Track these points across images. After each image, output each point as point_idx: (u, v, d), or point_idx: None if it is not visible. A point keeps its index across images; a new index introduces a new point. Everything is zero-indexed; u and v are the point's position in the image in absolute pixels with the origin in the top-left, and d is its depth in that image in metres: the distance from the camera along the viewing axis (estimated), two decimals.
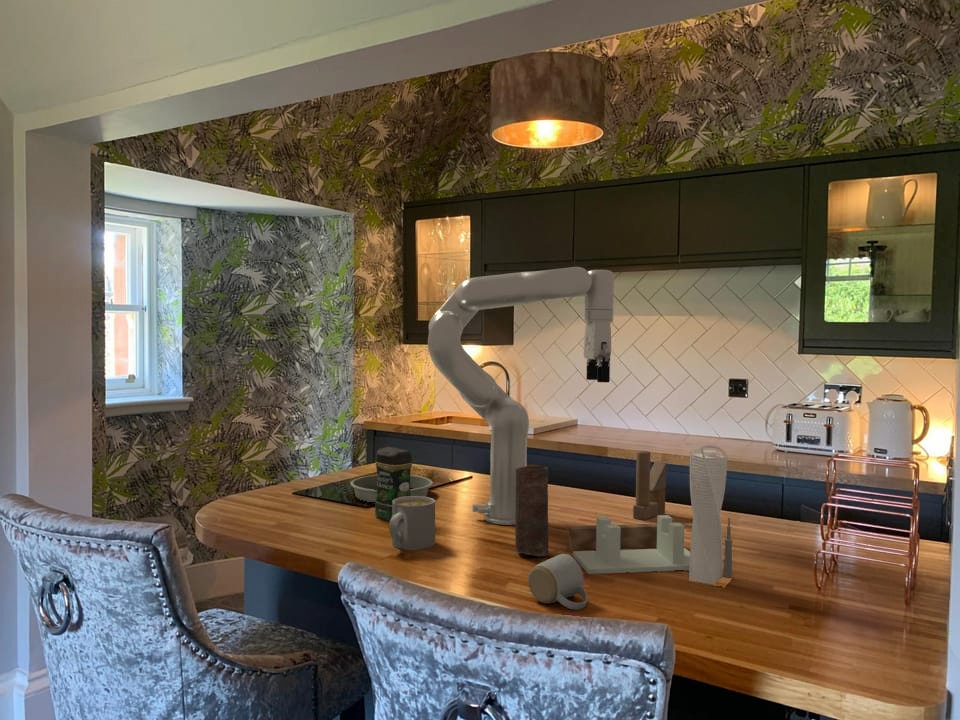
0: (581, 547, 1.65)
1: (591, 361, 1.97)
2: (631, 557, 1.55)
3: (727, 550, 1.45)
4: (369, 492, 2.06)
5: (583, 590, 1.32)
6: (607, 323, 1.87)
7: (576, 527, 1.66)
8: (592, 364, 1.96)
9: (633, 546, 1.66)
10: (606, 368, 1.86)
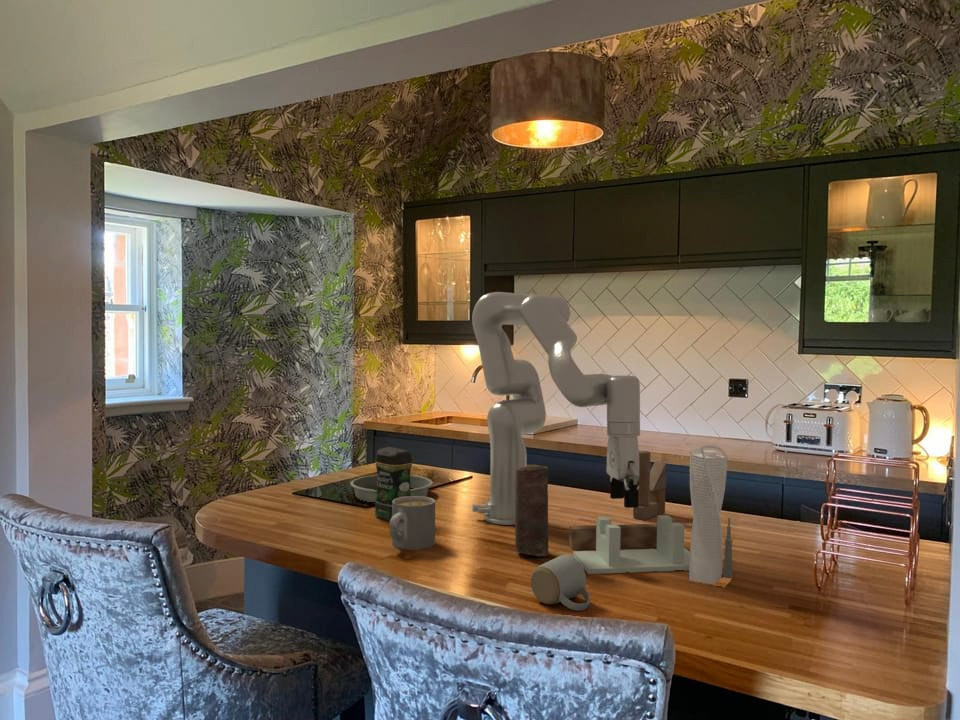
0: (581, 547, 1.65)
1: None
2: (631, 557, 1.55)
3: (727, 550, 1.45)
4: (369, 492, 2.06)
5: (586, 591, 1.31)
6: (633, 439, 1.62)
7: (576, 527, 1.66)
8: (616, 481, 1.71)
9: (633, 546, 1.66)
10: (634, 492, 1.60)
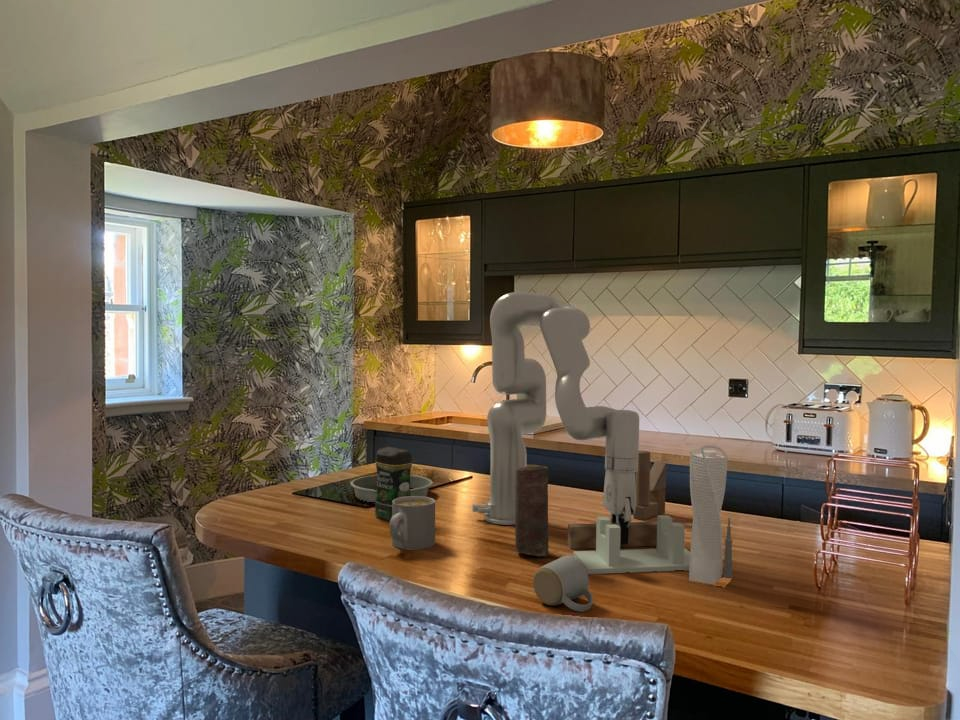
0: (580, 545, 1.65)
1: (615, 517, 1.69)
2: (631, 557, 1.55)
3: (727, 550, 1.45)
4: (369, 492, 2.06)
5: (588, 592, 1.31)
6: (631, 475, 1.62)
7: (574, 525, 1.66)
8: None
9: (632, 544, 1.67)
10: (624, 529, 1.65)
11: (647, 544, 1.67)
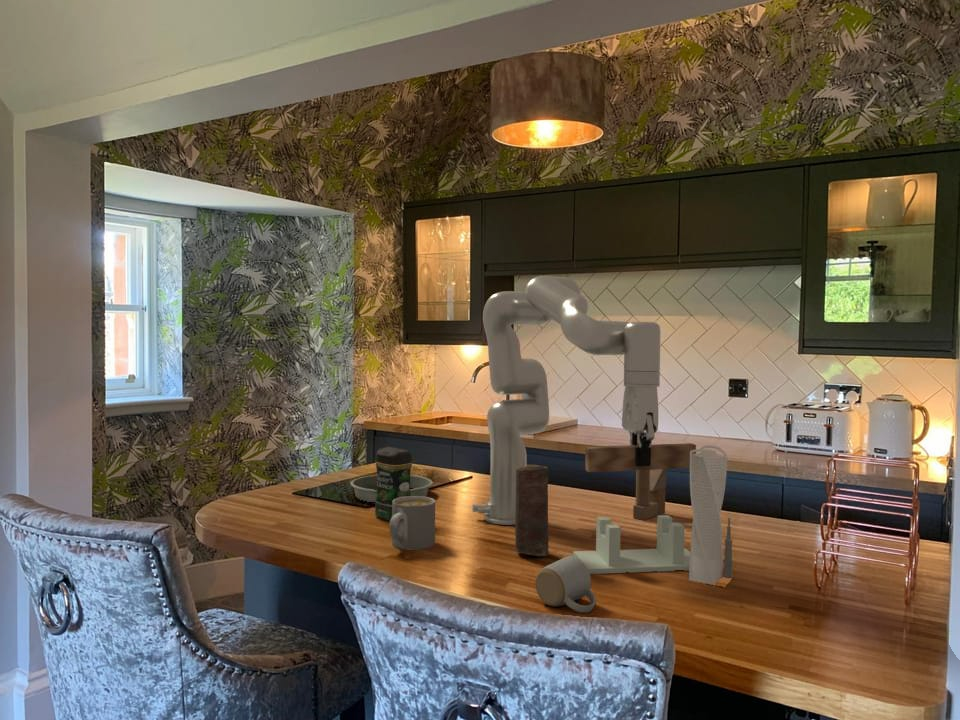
0: (599, 468, 1.52)
1: (635, 439, 1.57)
2: (631, 557, 1.55)
3: (727, 550, 1.45)
4: (369, 492, 2.06)
5: (591, 593, 1.30)
6: (653, 389, 1.50)
7: (592, 447, 1.53)
8: None
9: (654, 467, 1.54)
10: (647, 449, 1.52)
11: (671, 467, 1.55)
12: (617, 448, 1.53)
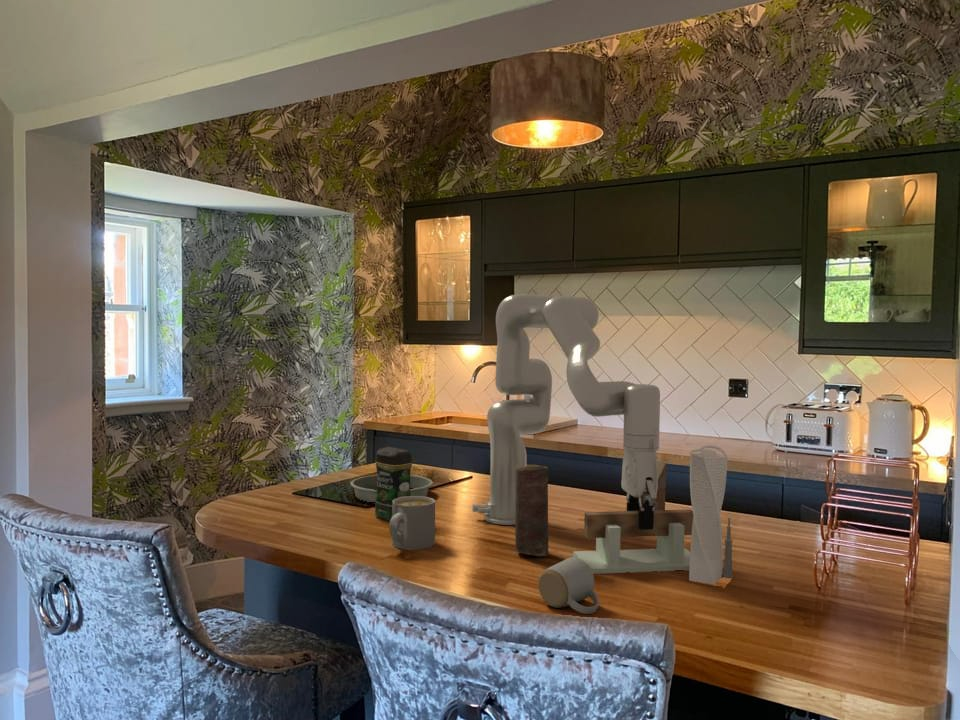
0: (597, 534, 1.52)
1: (632, 497, 1.59)
2: (631, 557, 1.55)
3: (727, 550, 1.45)
4: (369, 492, 2.06)
5: (594, 594, 1.30)
6: (652, 453, 1.50)
7: (591, 513, 1.53)
8: (634, 500, 1.58)
9: (653, 534, 1.54)
10: (649, 513, 1.50)
11: None
12: (616, 514, 1.53)
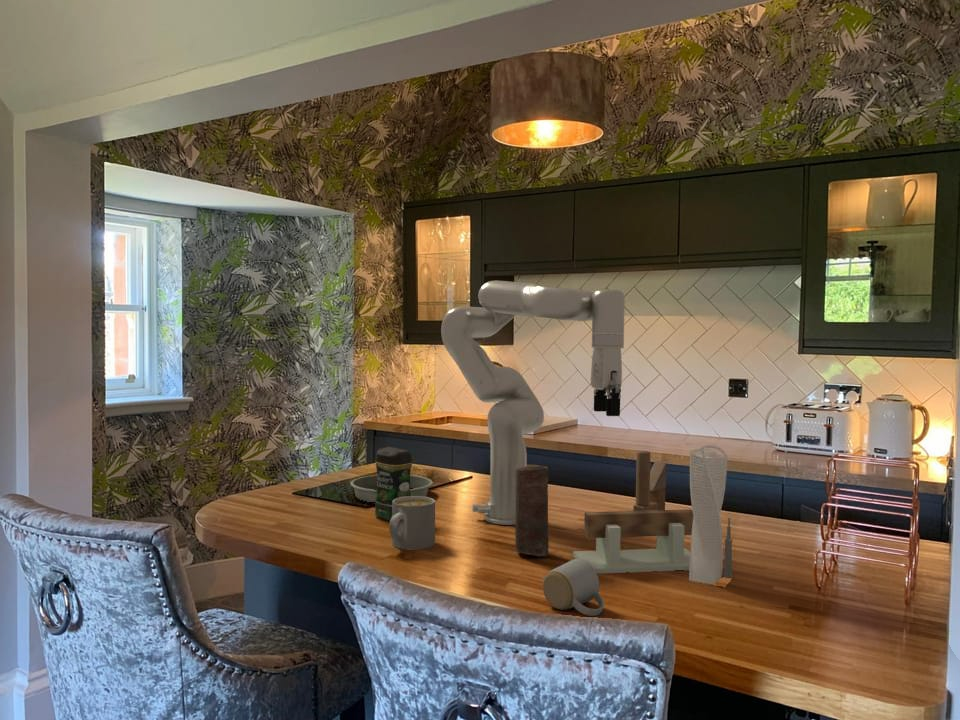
0: (597, 534, 1.52)
1: (599, 390, 1.76)
2: (631, 557, 1.55)
3: (727, 550, 1.45)
4: (369, 492, 2.06)
5: (599, 596, 1.29)
6: (617, 350, 1.67)
7: (591, 513, 1.53)
8: (600, 394, 1.76)
9: (653, 534, 1.54)
10: (616, 400, 1.66)
11: None
12: (616, 514, 1.53)
